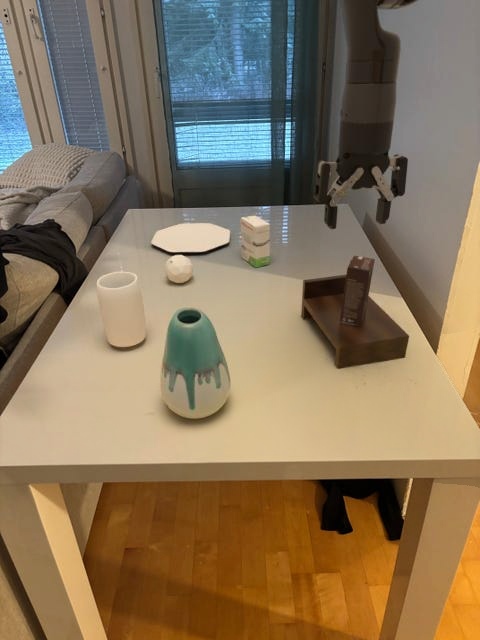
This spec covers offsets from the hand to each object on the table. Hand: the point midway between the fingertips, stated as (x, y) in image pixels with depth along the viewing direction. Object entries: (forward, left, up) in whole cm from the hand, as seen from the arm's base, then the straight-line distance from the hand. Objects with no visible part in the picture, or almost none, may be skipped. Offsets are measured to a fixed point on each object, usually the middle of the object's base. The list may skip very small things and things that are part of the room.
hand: (356, 225), depth 75 cm
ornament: (+26, -43, -27) cm, 57 cm away
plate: (+19, -70, -27) cm, 77 cm away
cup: (+40, -18, -27) cm, 51 cm away
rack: (-5, -8, -27) cm, 29 cm away
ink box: (+4, -50, -27) cm, 57 cm away
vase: (+29, +5, -27) cm, 40 cm away
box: (-5, -7, -22) cm, 24 cm away
